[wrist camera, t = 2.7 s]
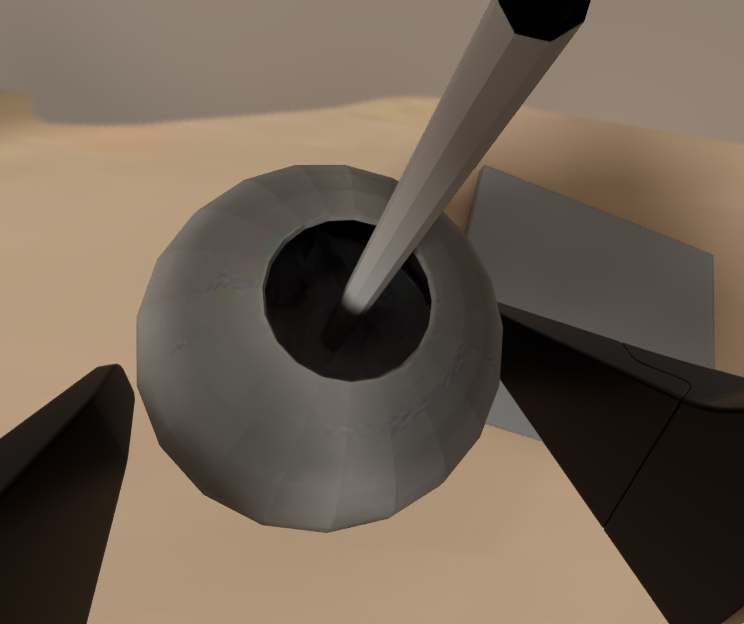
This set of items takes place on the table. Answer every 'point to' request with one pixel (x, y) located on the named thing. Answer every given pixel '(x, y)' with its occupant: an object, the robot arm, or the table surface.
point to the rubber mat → (589, 275)
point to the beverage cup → (342, 312)
